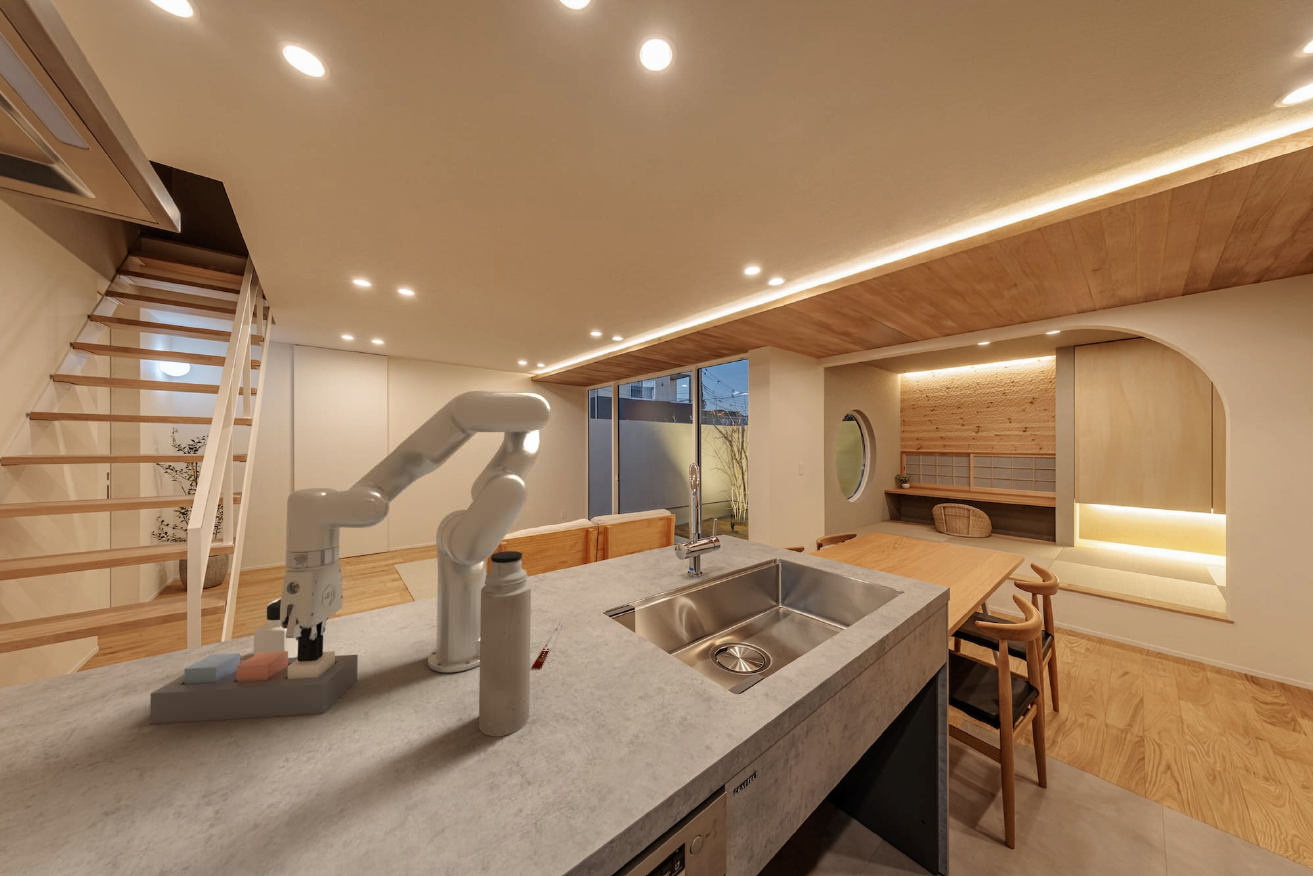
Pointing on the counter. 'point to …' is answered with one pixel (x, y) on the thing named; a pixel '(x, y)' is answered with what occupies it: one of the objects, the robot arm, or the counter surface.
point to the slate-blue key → (211, 668)
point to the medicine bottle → (274, 634)
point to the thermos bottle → (504, 646)
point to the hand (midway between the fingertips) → (310, 658)
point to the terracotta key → (262, 666)
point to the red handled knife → (540, 659)
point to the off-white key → (311, 667)
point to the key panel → (253, 695)
